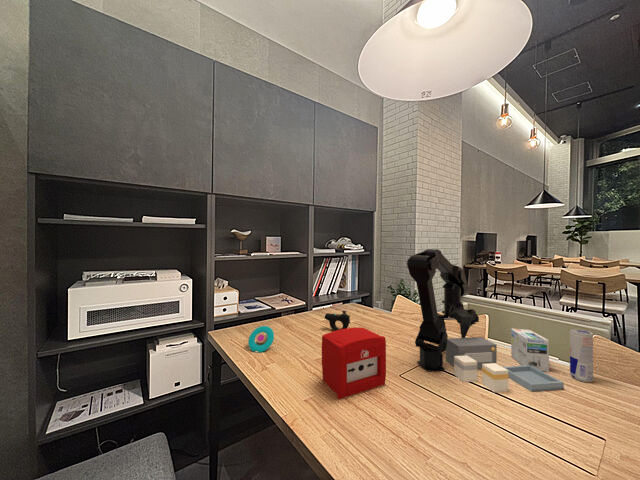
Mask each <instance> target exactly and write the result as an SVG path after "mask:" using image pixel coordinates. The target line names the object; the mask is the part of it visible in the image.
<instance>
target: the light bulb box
mask: <svg viewBox="0 0 640 480" xmlns="http://www.w3.org/2000/svg"><path fill="white" fill-rule="evenodd" d="M510 337H511V341H510V343H511V344H510V347H511V348H510V349H511V350H510V353H511V354H510V355H511V356H510V357H511V358H512V359H514V360H515V361H516V362H517V363H518V364H520V366H524V365H530V366H532V367H534V368H536V369H538V370H540V371H542V372H550V339H548V338H546V337H544V336H542V335H540V334H539V333H536V332H535V331H533V330H531V329H522V328H510Z"/></svg>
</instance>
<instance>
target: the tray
mask: <svg viewBox="0 0 640 480" xmlns="http://www.w3.org/2000/svg"><path fill="white" fill-rule="evenodd" d="M502 367H503V368H505V369H507V370H508V374H509V379H510V380H512V381H513V382H515V383H516V384H518V385H520V386H521V387H523V388H525V389H526V390H528V391H529V392H533V393H534V392H547V391H558V390H559V391H560V390H565V389H564V387H565V386H564V385H565V383H564V381H563V380H560V379H558V378H555V377H554V376H552V375H550V374H548V373H546V372H545V371H540V370H538V369H536V368H534V367H532V366H530V365H524V366H522V365H511V366H502Z"/></svg>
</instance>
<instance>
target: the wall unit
mask: <svg viewBox="0 0 640 480" xmlns="http://www.w3.org/2000/svg"><path fill="white" fill-rule="evenodd" d="M497 354H498V353H497V344H496V343H494V342H492V341H490V340H489V339H486V338H484V337H482V336H477V337H475V336H473V337H472V336H471V337H465V338H462V337H452V338H451V337H450V338H448V339H447V345H446V351H445V361H446V362H447V363H448V364H449V365H451V366H452V367H453V368H454V356H464V355H467V356H469V357H470V358H472V359H474V360H475V361H477V370H482V364H489V363H496V364H498V363H497V358H498V356H497Z"/></svg>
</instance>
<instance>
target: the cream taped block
mask: <svg viewBox="0 0 640 480" xmlns="http://www.w3.org/2000/svg"><path fill="white" fill-rule="evenodd" d="M503 367H504V366H503V365H502V366H501V365H500V364H498V363H497V364H496V363H489V364H482V369H481V373H482V376H481V380H482V383H481V384H482V385H483V386H485V387H486V388H487V389H489V390H490V391H492V392H493V393H505V392H509V379H510V378H509V374H508V370H507V369H505V368H503Z"/></svg>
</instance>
